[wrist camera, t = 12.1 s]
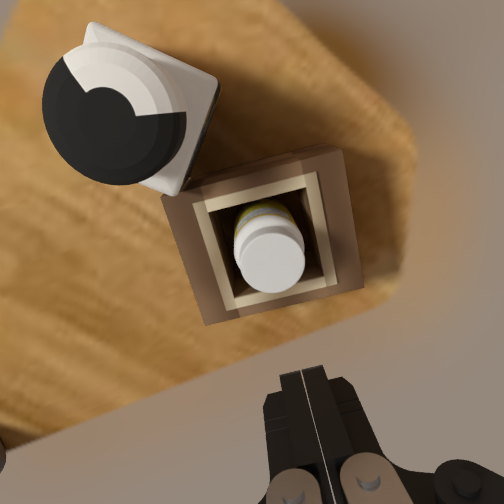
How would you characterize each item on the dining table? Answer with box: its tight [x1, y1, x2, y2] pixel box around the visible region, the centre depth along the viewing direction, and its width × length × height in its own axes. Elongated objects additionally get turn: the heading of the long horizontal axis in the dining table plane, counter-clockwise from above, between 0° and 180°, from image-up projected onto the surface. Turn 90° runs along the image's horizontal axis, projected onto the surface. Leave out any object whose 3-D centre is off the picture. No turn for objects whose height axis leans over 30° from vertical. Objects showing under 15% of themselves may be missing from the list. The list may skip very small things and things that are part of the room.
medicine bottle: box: [42, 22, 222, 196], centre depth 22 cm, size 7×7×12 cm
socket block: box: [160, 143, 364, 326], centre depth 28 cm, size 12×10×5 cm
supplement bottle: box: [234, 197, 305, 293], centre depth 27 cm, size 5×5×8 cm
